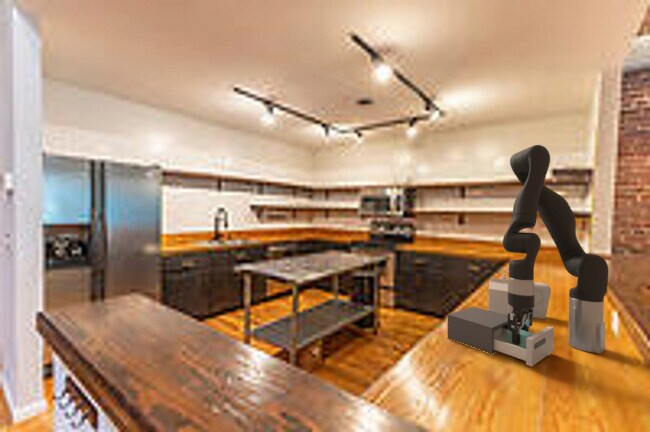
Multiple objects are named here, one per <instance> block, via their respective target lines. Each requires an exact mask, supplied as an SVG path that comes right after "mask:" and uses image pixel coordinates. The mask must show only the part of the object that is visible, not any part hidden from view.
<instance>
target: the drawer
mask: <svg viewBox="0 0 650 432" xmlns="http://www.w3.org/2000/svg"><path fill="white" fill-rule="evenodd" d="M507 330H508V329H507V328H504V327H499V328H497V329H495V330H494V350H497V351H498V352H500V353H502V354H505V355H508V356H512V357H514V358H517V359H520V360H522V361H525V365H527V366H529V367H533V366H535V365H536V364H537V363H539V362H541V361H542V360H543V359H546V357H548V356H549V355H550V354H552V353H553V352H554V350H555V349H554V347H555V346H554V344H555V342H554V341H555V340H554V338H555V336H554V335H555V334H554V333H555V332H554V331H555V328H554V327H553V326H550V325H548V326H546V327H545V328H543V329H541V330H539V331H537V332H535V333H534V334H533V335H531V336H530V337H528V338H526V349H525V348H522V347H519V346H516V345H512V344H509V343H507Z"/></svg>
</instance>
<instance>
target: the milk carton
mask: <svg viewBox="0 0 650 432" xmlns="http://www.w3.org/2000/svg"><path fill="white" fill-rule="evenodd" d="M508 280H509V279H506V280H503V279H502V278H500V279H499V278H493V277H490V278H489V283H488V309H487V310H488V311H492V312H496V313H500V314H504V315H508V313H509V304H508Z"/></svg>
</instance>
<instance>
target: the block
mask: <svg viewBox="0 0 650 432" xmlns="http://www.w3.org/2000/svg"><path fill="white" fill-rule="evenodd" d="M514 329H515V328H514ZM533 334H535V333H534V332H531V331H529V332H528V331H524V330H521V332H520V345H516V344H513V343H512V332H511V331H508V330H507V343H509V344H512V345H516V346H519V347H522V348H525V349H526V338H528V337H530V336H531V335H533Z"/></svg>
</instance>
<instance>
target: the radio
mask: <svg viewBox="0 0 650 432" xmlns="http://www.w3.org/2000/svg"><path fill="white" fill-rule="evenodd" d="M507 274H509V267H508V268H507V269H506V271H505V272H504V273H503V274H502V275H501V276H500V277H499V278H498V279H503V280H507V278H506V277H505V276H506V275H507ZM535 276H536V277H538V278H539V279H541V281H542V282H535V281H534V286H535V298H534V308H532V309H533V319H538V320H539V319H540V320H545V319H547V313H548V308H549V303H550V298H551V294H552V287H551V286H550V285H549V284H547V283H545V281H544V280H543V279H542V278H540V277H539V276H538V275H537V274H535ZM512 310H513V307H512V306H511V305H509V313H510V314H512Z"/></svg>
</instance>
